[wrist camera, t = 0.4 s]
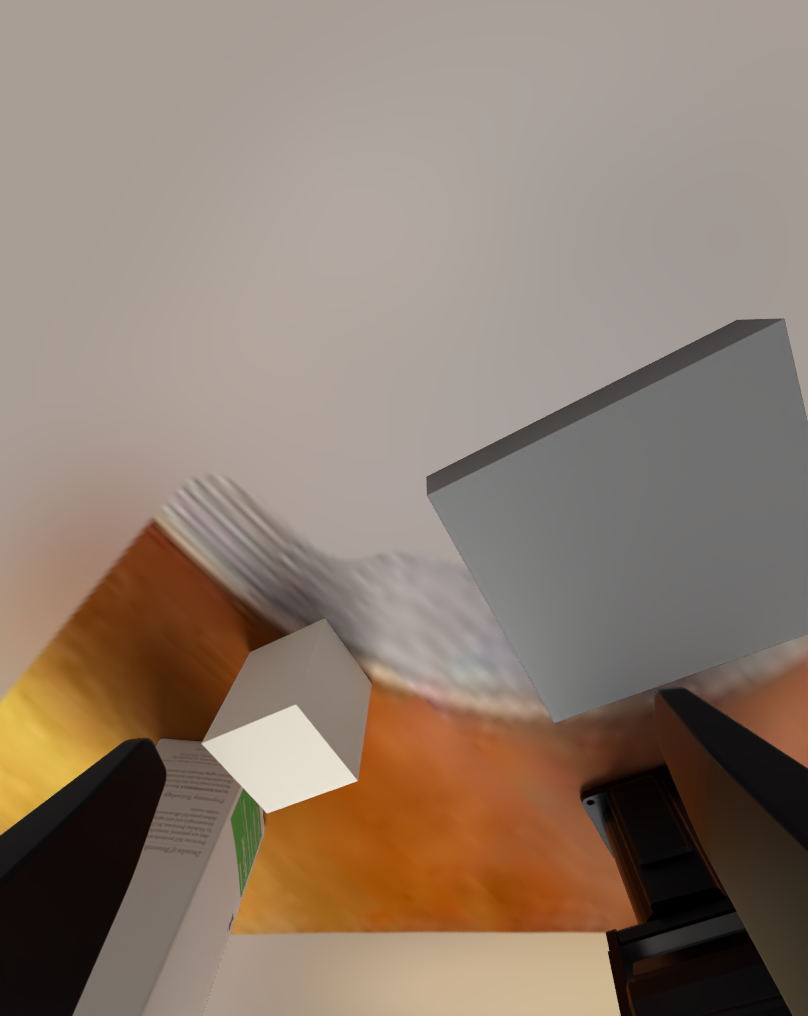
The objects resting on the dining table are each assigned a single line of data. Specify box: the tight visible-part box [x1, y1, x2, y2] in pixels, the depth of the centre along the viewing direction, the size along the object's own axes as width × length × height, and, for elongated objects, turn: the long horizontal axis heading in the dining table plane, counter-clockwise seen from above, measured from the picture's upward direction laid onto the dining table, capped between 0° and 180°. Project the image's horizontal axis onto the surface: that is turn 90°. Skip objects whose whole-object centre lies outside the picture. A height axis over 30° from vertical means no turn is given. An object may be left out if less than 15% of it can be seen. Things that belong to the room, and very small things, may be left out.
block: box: [201, 618, 372, 813], centre depth 23 cm, size 5×5×6 cm
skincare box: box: [73, 739, 265, 1016], centre depth 22 cm, size 8×7×16 cm
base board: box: [426, 319, 808, 723], centre depth 20 cm, size 14×14×2 cm
